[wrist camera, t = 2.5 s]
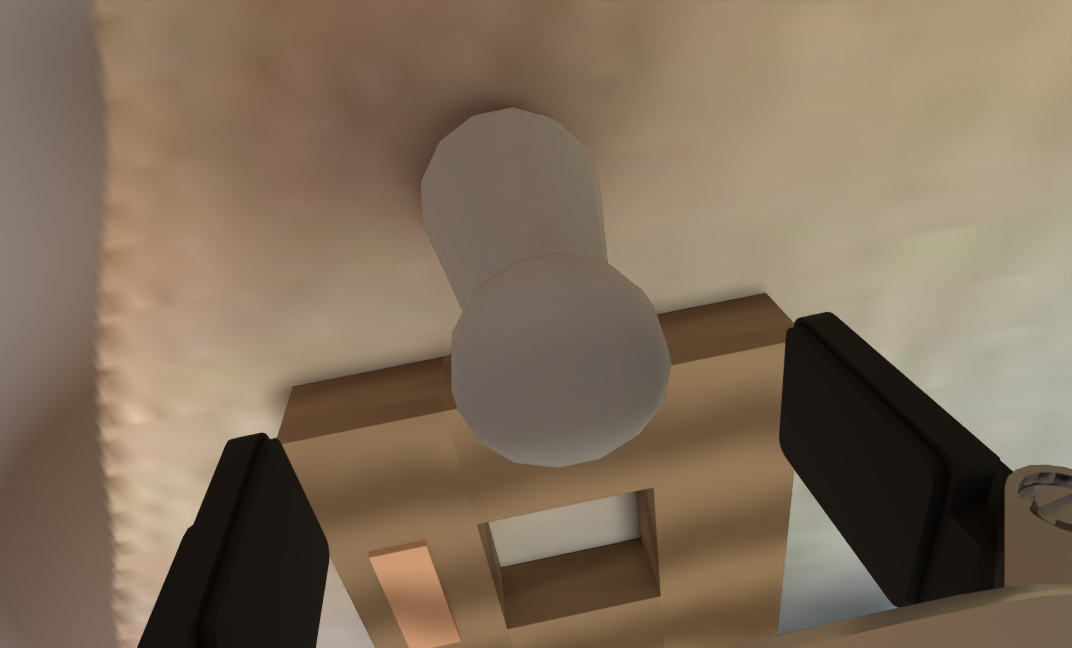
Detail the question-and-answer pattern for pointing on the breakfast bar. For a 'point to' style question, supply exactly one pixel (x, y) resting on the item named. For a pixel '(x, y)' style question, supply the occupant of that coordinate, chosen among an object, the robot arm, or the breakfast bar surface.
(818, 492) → the robot arm
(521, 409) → the salt shaker
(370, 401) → the socket block
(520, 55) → the breakfast bar surface
